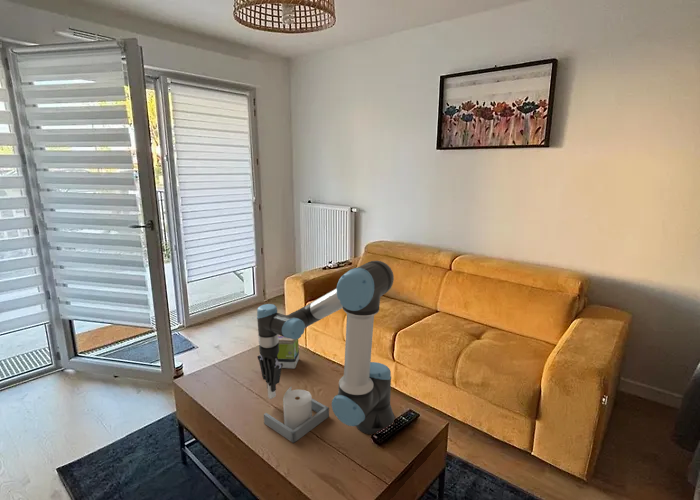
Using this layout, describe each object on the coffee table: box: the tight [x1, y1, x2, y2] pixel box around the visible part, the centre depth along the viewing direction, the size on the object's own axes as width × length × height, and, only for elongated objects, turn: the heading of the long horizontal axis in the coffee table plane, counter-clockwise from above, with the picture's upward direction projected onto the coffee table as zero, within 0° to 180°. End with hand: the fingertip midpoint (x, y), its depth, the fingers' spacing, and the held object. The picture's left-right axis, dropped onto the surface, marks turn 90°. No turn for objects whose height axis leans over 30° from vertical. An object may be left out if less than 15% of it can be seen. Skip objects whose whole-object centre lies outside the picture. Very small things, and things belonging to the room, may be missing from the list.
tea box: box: [277, 335, 300, 369], centre depth 187 cm, size 15×10×15 cm, turn 84°
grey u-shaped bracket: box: [263, 397, 330, 444], centre depth 148 cm, size 16×18×4 cm
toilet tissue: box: [282, 386, 313, 430], centre depth 147 cm, size 11×12×10 cm
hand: (271, 396), depth 156 cm, fingers closed
